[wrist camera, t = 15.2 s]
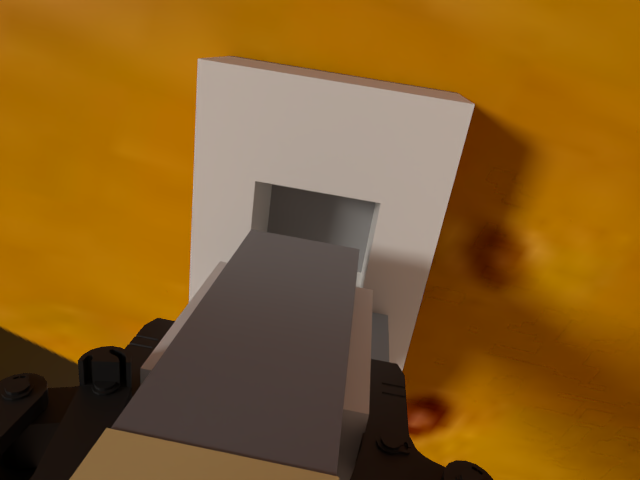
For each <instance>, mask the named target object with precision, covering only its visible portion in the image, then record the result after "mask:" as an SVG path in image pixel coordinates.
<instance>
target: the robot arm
mask: <svg viewBox="0 0 640 480" xmlns="http://www.w3.org/2000/svg"><path fill="white" fill-rule="evenodd" d="M226 264H227V262H222V261H220V262H219V263H218V265H217V266H216V267H215V269H214V270H213V271H212V273H211V274H210V275H209V277H208V278H207V279H206V281H205V282H204V283H203V285H202V286H201V287H200V289H199V290H198V291H197V293H196V294H195V295H194V297H193V298H192V299H191V301H190V302H189V304H188V305H187V306H186V308H185V309H184V310H183V312H182V313H181V314H180V316H179V317H178V318H177V320H176V321H171V320H166V319H161V318H157V319H155V320H153V321H151V322H149V323H148V324H146V325H144V327H143V328H142V329H141V330H140V331H139V332H138V334H137V335H136V337H134V338H133V340H132V341H131V342H130V344H129V345H127V347H126V348H125V349H123V348H120V347H114V346H106V347H99V348H96V349H92V350H90V351H88V352H87V353H85V354H83V355H82V356H81V358H80V359H79V360H78V367H79V380H80V386H75V387H61V388H48V386H47V381H46V380H45V379H44V377H42V376H40V375H37V374H32V373H23V374H17V375H13V376H10V377H7V378H5V379H3V380H1V381H0V480H69V479H70V478H71V477H72V475H73V474H74V472H75V471H76V470H77V468H78V467H79V466H80V464H81V463H82V461H83V460H84V459H85V457H86V456H87V454H88V453H89V452H90V450H91V449H92V447H93V446H94V445H95V443H96V442H97V440H98V439H99V438H100V436H101V435H102V433H103V432H104V431H105V429H106V428H111V427H112V425H113V424H114V423H115V421H116V420H117V418H118V417H119V416H120V414H121V413H122V411H123V410H124V409H125V407H126V406H127V404H128V403H129V401H130V400H131V399H132V397H133V396H134V394H135V393H136V392H137V390H138V389H139V387H140V386H141V384H142V383H143V382H144V380H145V379H146V377H147V376H148V375H149V373H150V372H151V370H152V369H153V368H154V366H155V365H156V363H157V362H158V360H159V359H160V358H161V356H162V355H163V353H164V352H165V351H166V349H167V348H168V346H169V345H170V343H171V342H172V341H173V339H174V338H175V336H176V335H177V334H178V332H179V331H180V329H181V328H182V327H183V325H184V324H185V322H186V321H187V319H188V318H189V317H190V315H191V314H192V312H193V311H194V310H195V308H196V307H197V305H198V304H199V302H200V301H201V300H202V298H203V297H204V295H205V294H206V293H207V291H208V290H209V288H210V287H211V286H212V284H213V283H214V281H215V280H216V278H217V277H218V276H219V274H220V273H221V271H222V270H223V269H224V267H225V266H226ZM372 305H373V290H371V289H365V288H360V287H356V289H355V299H354V308H353V318H352V328H351V338H350V348H349V357H348V367H347V377H346V387H345V396H344V406H343V416H342V426H341V436H340V445H339V455H338V465H337V475H336V476H338V477H339V480H493V479H492V477H491V476H490V475H489V474H488V473H487V472H486V471H485V470H484V469H482V468H481V467H479V466H478V465H476V464H473V463H471V462H468V461H457V460H456V461H454V462H451V463H449V464H448V465H447V466H446V467H444V466H442V465H440V464H437V463H435V462H433V461H431V460H430V459H428V458H426V457H425V456H423V455H422V454H421V453H420V452H419V451H418V450H417V449H416V448H415V446H414V444H413V442H412V440H411V438H410V437H409V432H408V418H407V404H406V390H405V376H404V374H403V372H402V371H401V369H400V367H399V366H398V364H396V363H391V362H385V361H380V360H375V359H371V337H372Z"/></svg>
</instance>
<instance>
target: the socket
mask: <svg viewBox="0 0 640 480" xmlns="http://www.w3.org/2000/svg"><path fill="white" fill-rule="evenodd" d="M474 106H475V104H474V103H472V102H471V101H469V100H467V99H466V98H464V97H463V96H461V95H460V94H458V93H455V92H449V91H443V90H437V89H431V88H425V87H419V86H412V85H406V84H400V83H394V82H388V81H382V80H376V79H370V78H364V77H357V76H351V75H345V74H339V73H333V72H327V71H321V70H315V69H309V68H302V67H296V66H290V65H284V64H278V63H272V62H266V61H260V60H254V59H247V58H241V57H235V56H224V57H212V58H200V59H198V70H197V97H196V124H195V151H194V178H193V205H192V232H191V260H190V287H189V302H190V301H191V299H192V298H193V297H194V295H195V294H196V293H197V291H198V290H199V289H200V287H201V286H202V285H203V283H204V282H205V281H206V279H207V278H208V277H209V275H210V274H211V273H212V271H213V270H214V269H215V267H216V266H217V265H218V263H219V262H220V261H222V262H227V263H228V261H229V260H230V259H231V257H232V256H233V254H234V253H235V252H236V250H237V249H238V247H239V246H240V245H241V243H242V242H243V240H244V239H245V237H246V236H247V235H248V233H249V232H250V230H251V229H253V230H258V231H263V232H269V233H274V234H280V235H285V236H291V237H296V238H302V239H307V240H312V241H318V242H323V243H329V244H334V245H340V246H345V247H351V248H356V249H360V250H359V260H358V269H357V279H356V287H360V288H365V289H371V290H373V305H372V312H373V313H379V314H384V315H388V332H389V362H391V363H396V364H398V366H399V367H400V369H401V371H403V367H404V363H405V360H406V356H407V352H408V348H409V345H410V341H411V337H412V334H413V330H414V326H415V323H416V319H417V315H418V312H419V308H420V304H421V301H422V297H423V293H424V290H425V286H426V282H427V279H428V275H429V271H430V268H431V264H432V260H433V257H434V253H435V249H436V246H437V242H438V238H439V235H440V231H441V227H442V224H443V220H444V216H445V213H446V209H447V205H448V202H449V198H450V194H451V191H452V187H453V183H454V180H455V176H456V172H457V169H458V165H459V161H460V158H461V154H462V150H463V146H464V143H465V139H466V135H467V132H468V128H469V124H470V121H471V117H472V113H473V110H474Z"/></svg>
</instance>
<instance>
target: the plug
mask: <svg viewBox="0 0 640 480" xmlns="http://www.w3.org/2000/svg"><path fill="white" fill-rule="evenodd" d="M359 250H360V249H356V248H351V247H345V246H340V245H334V244H329V243H323V242H318V241H312V240H307V239H302V238H296V237H291V236H285V235H280V234H274V233H269V232H263V231H258V230H253V229H251V230H250V232H249V233H248V235H247V236H246V237H245V239H244V240H243V242H242V243H241V245H240V246H239V247H238V249H237V250H236V252H235V253H234V254H233V256H232V257H231V259H230V260H229V261H228V263H227V264H226V266H225V267H224V269H223V270H222V271H221V273H220V274H219V276H218V277H217V278H216V280H215V281H214V283H213V284H212V286H211V287H210V288H209V290H208V291H207V293H206V294H205V295H204V297H203V298H202V300H201V301H200V302H199V304H198V305H197V307H196V308H195V310H194V311H193V312H192V314H191V315H190V317H189V318H188V319H187V321H186V322H185V324H184V325H183V327H182V328H181V329H180V331H179V332H178V334H177V335H176V336H175V338H174V339H173V341H172V342H171V343H170V345H169V346H168V348H167V349H166V351H165V352H164V353H163V355H162V356H161V358H160V359H159V360H158V362H157V363H156V365H155V366H154V368H153V369H152V370H151V372H150V373H149V375H148V376H147V377H146V379H145V380H144V382H143V383H142V384H141V386H140V387H139V389H138V390H137V392H136V393H135V394H134V396H133V397H132V399H131V400H130V401H129V403H128V404H127V406H126V407H125V409H124V410H123V411H122V413H121V414H120V416H119V417H118V418H117V420H116V421H115V423H114V424H113V425H112V427H111V428H106V429H105V431H104V432H103V433H102V435H101V436H100V438H99V439H98V440H97V442H96V443H95V445H94V446H93V447H92V449H91V450H90V452H89V453H88V454H87V456H86V457H85V459H84V460H83V461H82V463H81V464H80V466H79V467H78V468H77V470H76V471H75V472H74V474H73V475H72V477H71V478H70V479H69V480H339V477H338V476H336V475H337V465H338V455H339V445H340V436H341V426H342V416H343V406H344V396H345V387H346V377H347V367H348V357H349V348H350V338H351V328H352V318H353V308H354V299H355V289H356V279H357V269H358V260H359Z"/></svg>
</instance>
